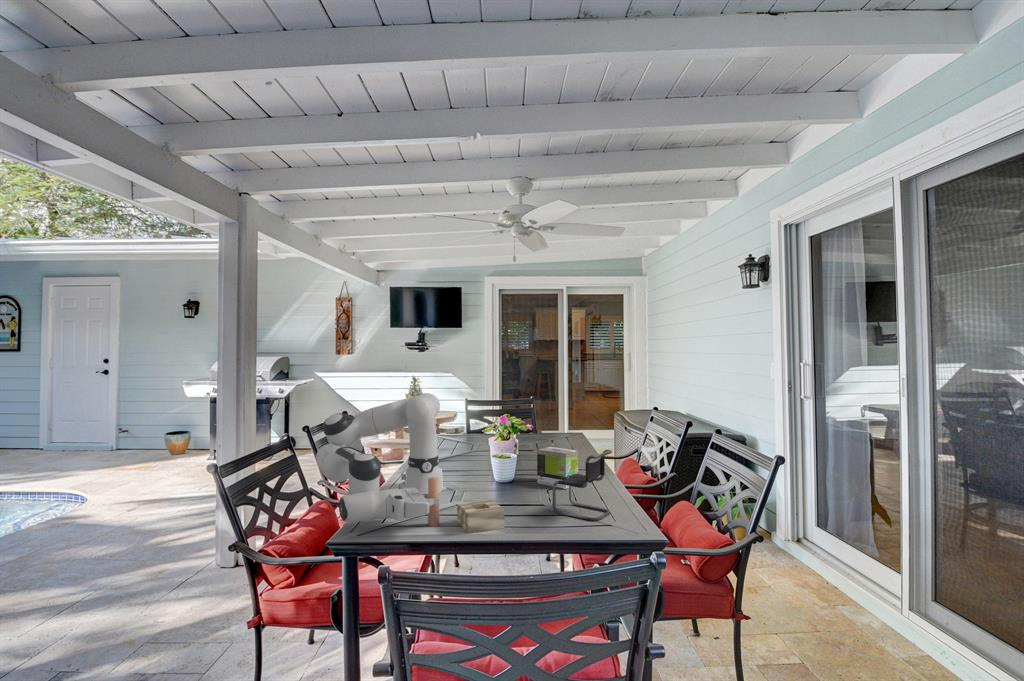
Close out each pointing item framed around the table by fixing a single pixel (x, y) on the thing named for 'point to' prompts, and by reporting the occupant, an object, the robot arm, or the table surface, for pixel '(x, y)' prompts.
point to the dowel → (433, 509)
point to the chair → (584, 485)
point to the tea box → (556, 465)
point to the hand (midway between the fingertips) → (436, 498)
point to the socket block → (480, 516)
